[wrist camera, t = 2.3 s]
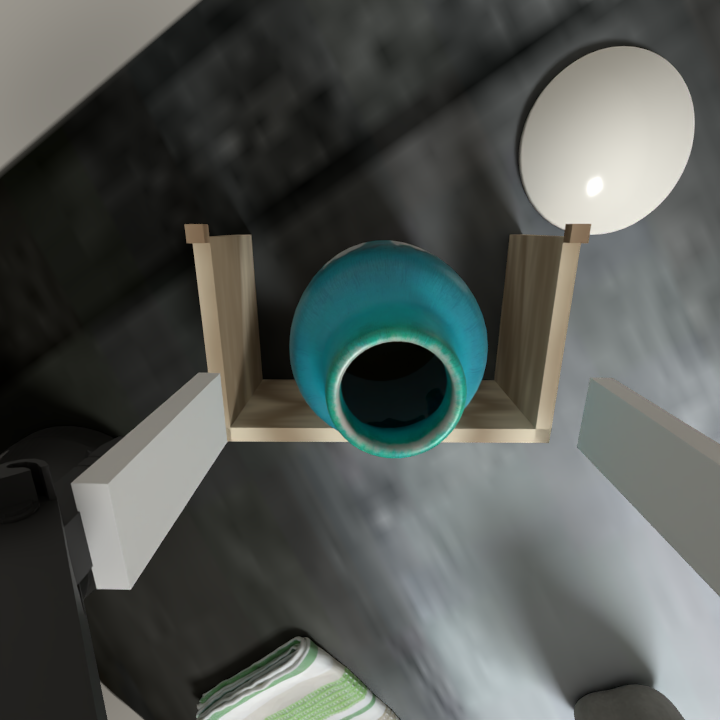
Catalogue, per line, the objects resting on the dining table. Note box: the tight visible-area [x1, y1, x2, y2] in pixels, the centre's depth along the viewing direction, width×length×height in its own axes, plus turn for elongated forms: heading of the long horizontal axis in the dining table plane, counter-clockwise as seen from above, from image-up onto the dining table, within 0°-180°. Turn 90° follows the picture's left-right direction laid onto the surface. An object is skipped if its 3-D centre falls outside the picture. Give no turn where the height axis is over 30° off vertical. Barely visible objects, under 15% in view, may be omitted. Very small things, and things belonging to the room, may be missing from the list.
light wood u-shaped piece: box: [184, 224, 591, 443], centre depth 29 cm, size 22×14×10 cm, turn 90°
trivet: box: [519, 46, 695, 235], centre depth 29 cm, size 12×12×1 cm
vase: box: [289, 240, 488, 458], centre depth 24 cm, size 11×11×19 cm
